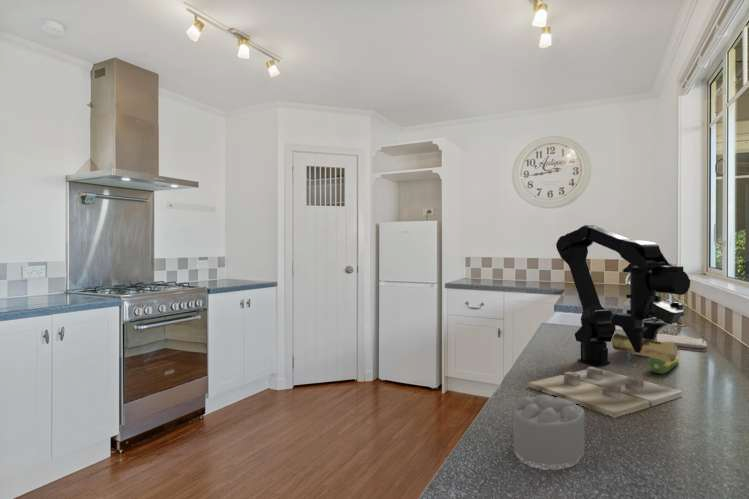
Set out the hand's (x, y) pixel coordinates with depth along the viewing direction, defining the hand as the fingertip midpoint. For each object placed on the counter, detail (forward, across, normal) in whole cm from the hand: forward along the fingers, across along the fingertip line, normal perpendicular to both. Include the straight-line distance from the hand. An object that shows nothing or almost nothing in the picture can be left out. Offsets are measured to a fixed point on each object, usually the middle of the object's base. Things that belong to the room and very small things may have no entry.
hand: (643, 351), depth 112 cm
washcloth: (+8, +46, +16) cm, 49 cm away
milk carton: (+7, +26, +16) cm, 32 cm away
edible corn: (+8, +16, +2) cm, 18 cm away
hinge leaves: (+7, -18, -1) cm, 19 cm away
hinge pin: (+1, 0, 0) cm, 1 cm away
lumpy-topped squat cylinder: (+8, -54, -15) cm, 56 cm away
